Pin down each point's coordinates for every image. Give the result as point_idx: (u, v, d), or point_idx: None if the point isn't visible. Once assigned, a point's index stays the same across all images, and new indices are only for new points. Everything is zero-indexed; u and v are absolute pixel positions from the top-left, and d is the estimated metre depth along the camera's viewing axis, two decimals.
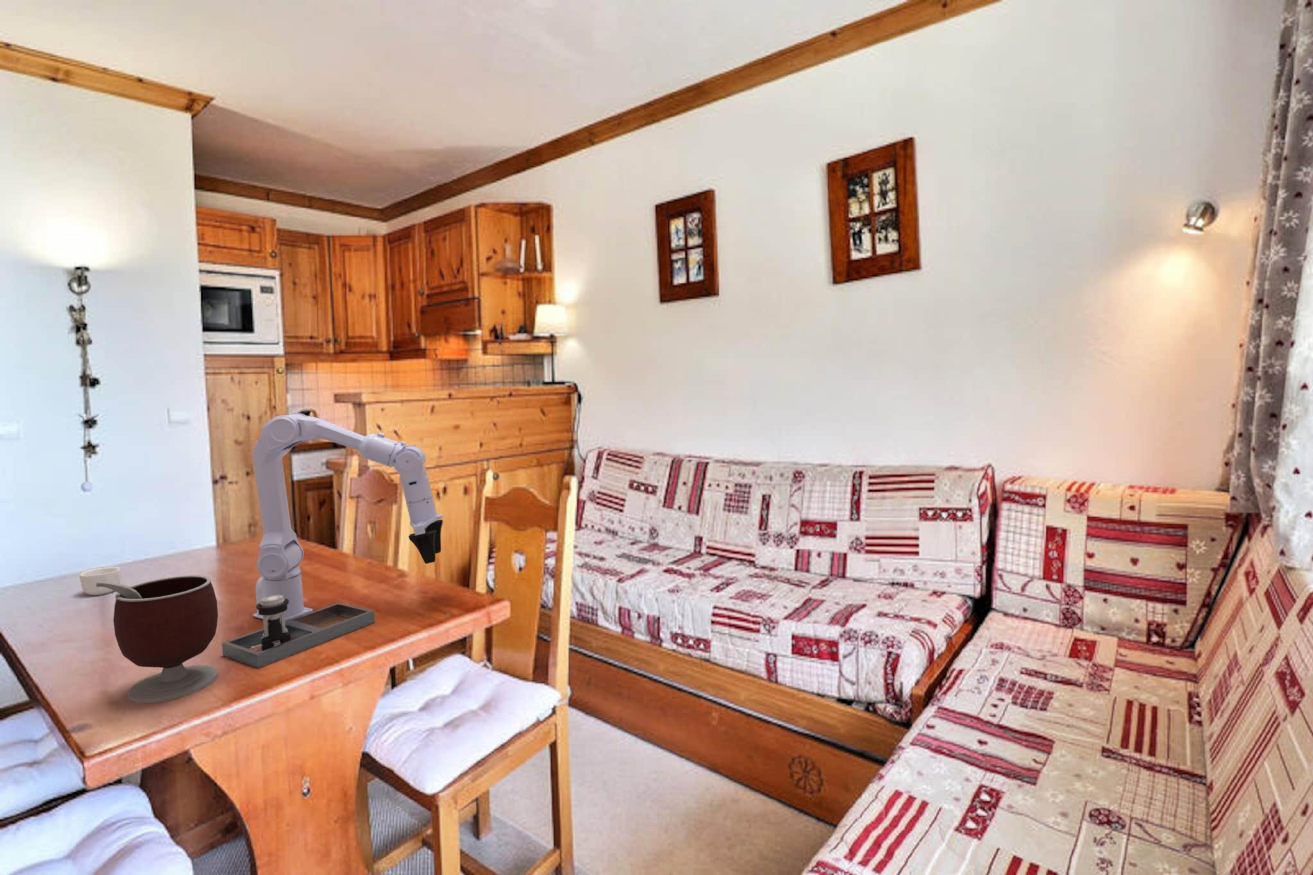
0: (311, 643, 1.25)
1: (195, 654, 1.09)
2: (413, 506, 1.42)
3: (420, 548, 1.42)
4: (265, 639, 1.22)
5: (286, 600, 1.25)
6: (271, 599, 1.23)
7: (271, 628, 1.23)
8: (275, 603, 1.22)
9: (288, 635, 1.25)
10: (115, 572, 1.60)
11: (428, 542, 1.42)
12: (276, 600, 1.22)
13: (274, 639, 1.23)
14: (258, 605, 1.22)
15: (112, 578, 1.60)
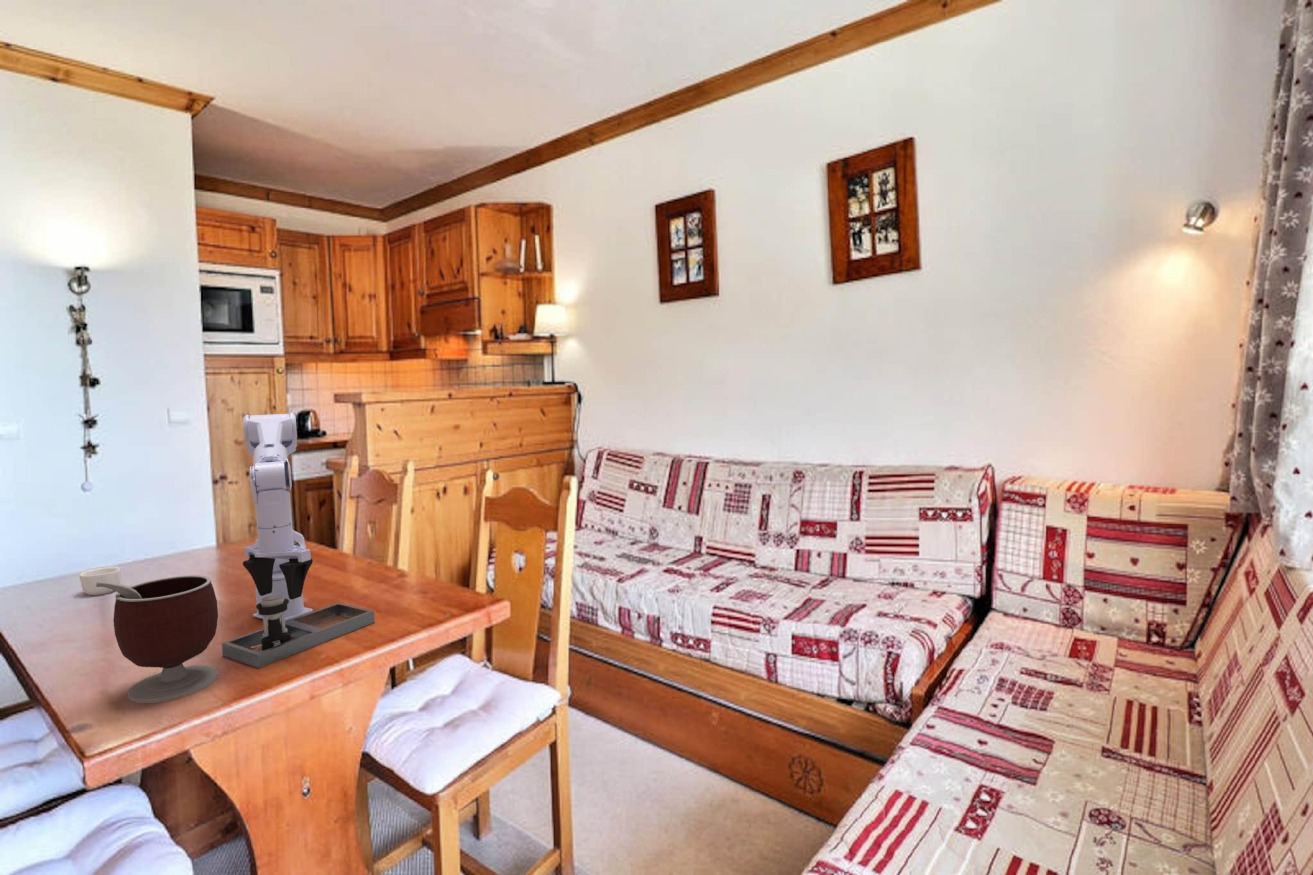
0: (311, 643, 1.25)
1: (195, 654, 1.09)
2: None
3: None
4: (265, 639, 1.22)
5: (286, 600, 1.25)
6: (271, 599, 1.23)
7: (271, 628, 1.23)
8: (275, 603, 1.22)
9: (288, 635, 1.25)
10: (115, 572, 1.60)
11: None
12: (276, 600, 1.22)
13: (274, 639, 1.23)
14: (258, 605, 1.22)
15: (112, 578, 1.60)
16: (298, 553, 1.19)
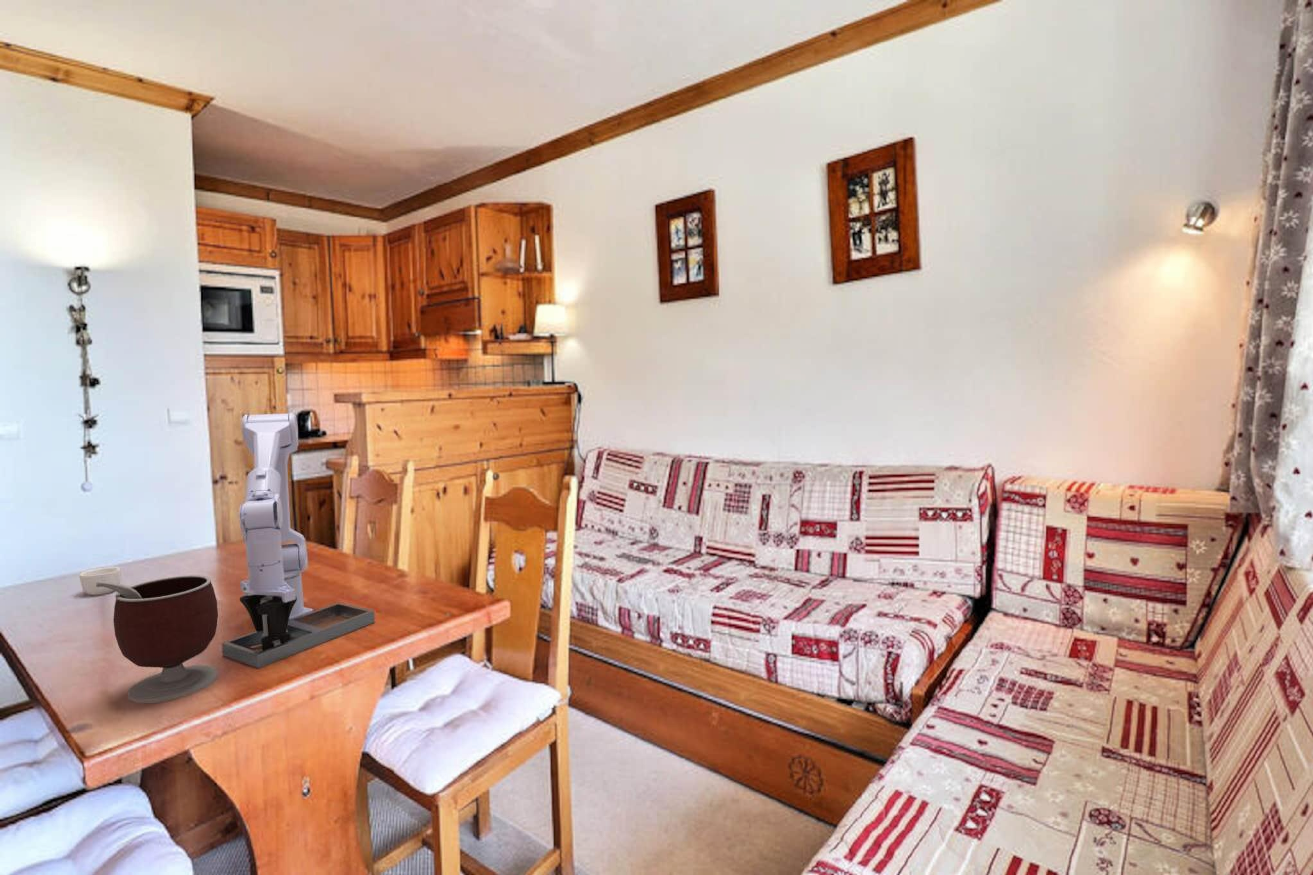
0: (311, 643, 1.25)
1: (195, 654, 1.09)
2: None
3: None
4: (265, 639, 1.22)
5: None
6: (270, 598, 1.23)
7: (270, 628, 1.23)
8: None
9: (288, 634, 1.25)
10: (115, 572, 1.60)
11: None
12: None
13: (274, 639, 1.23)
14: (257, 605, 1.23)
15: (112, 578, 1.60)
16: (282, 593, 1.19)
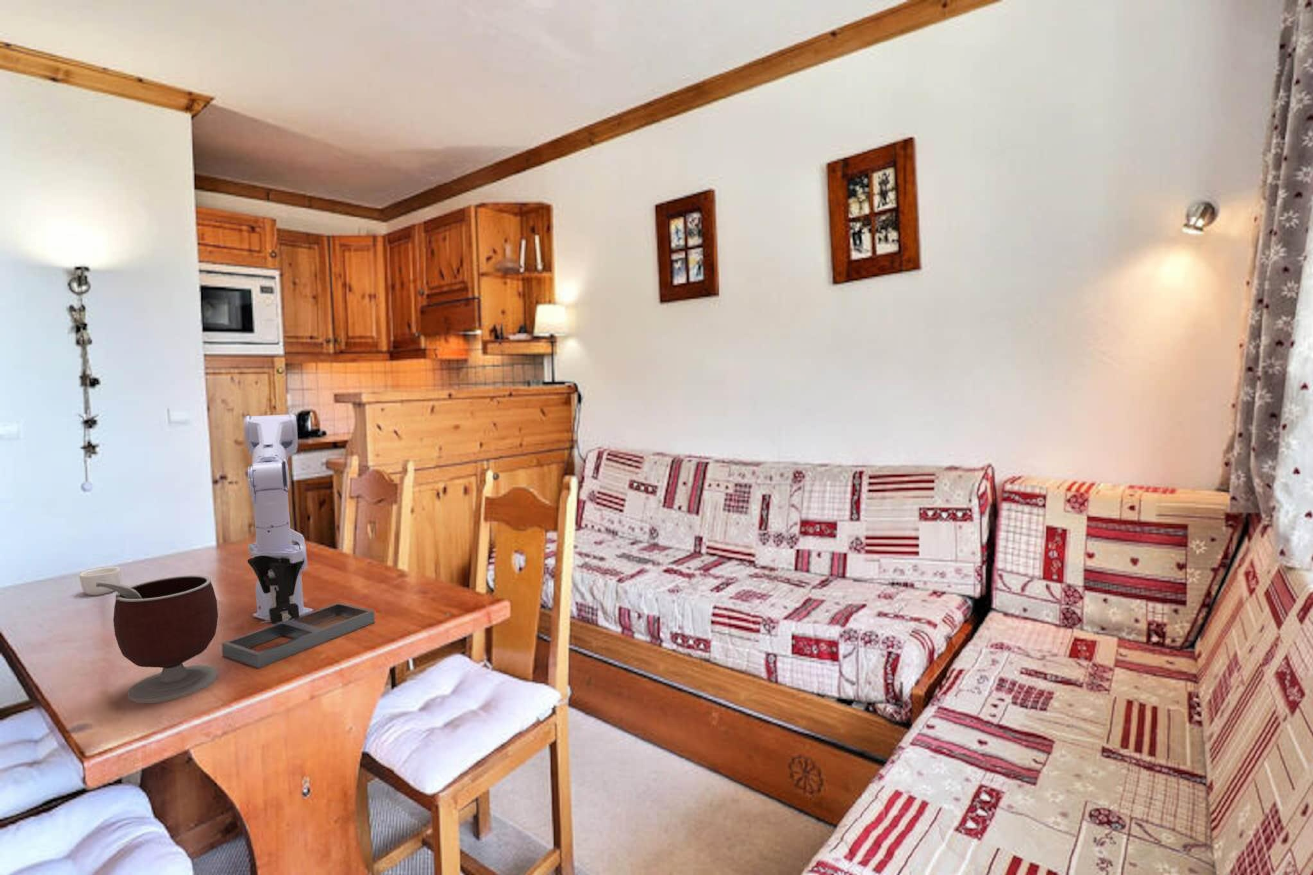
0: (311, 643, 1.25)
1: (195, 654, 1.09)
2: None
3: None
4: (273, 610, 1.24)
5: None
6: None
7: (278, 599, 1.24)
8: None
9: (296, 606, 1.26)
10: (115, 572, 1.60)
11: None
12: None
13: (282, 609, 1.24)
14: (265, 576, 1.24)
15: (112, 578, 1.60)
16: (289, 554, 1.20)
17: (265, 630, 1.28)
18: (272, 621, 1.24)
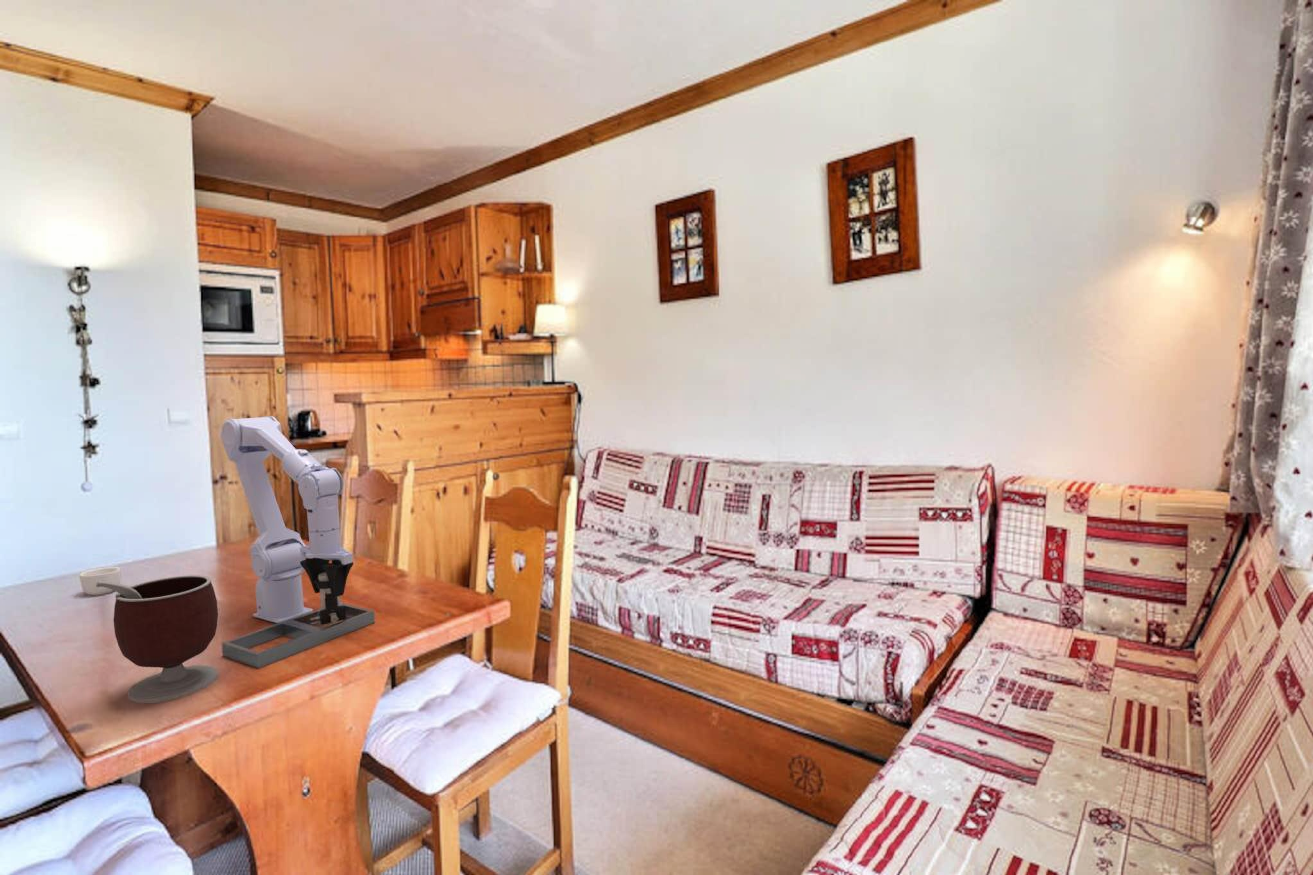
0: (311, 643, 1.25)
1: (195, 654, 1.09)
2: None
3: None
4: (323, 611, 1.32)
5: None
6: None
7: (328, 601, 1.33)
8: None
9: (343, 608, 1.34)
10: (115, 572, 1.60)
11: None
12: None
13: (331, 611, 1.33)
14: (316, 580, 1.33)
15: (112, 578, 1.60)
16: (341, 556, 1.29)
17: (265, 630, 1.28)
18: (322, 622, 1.32)
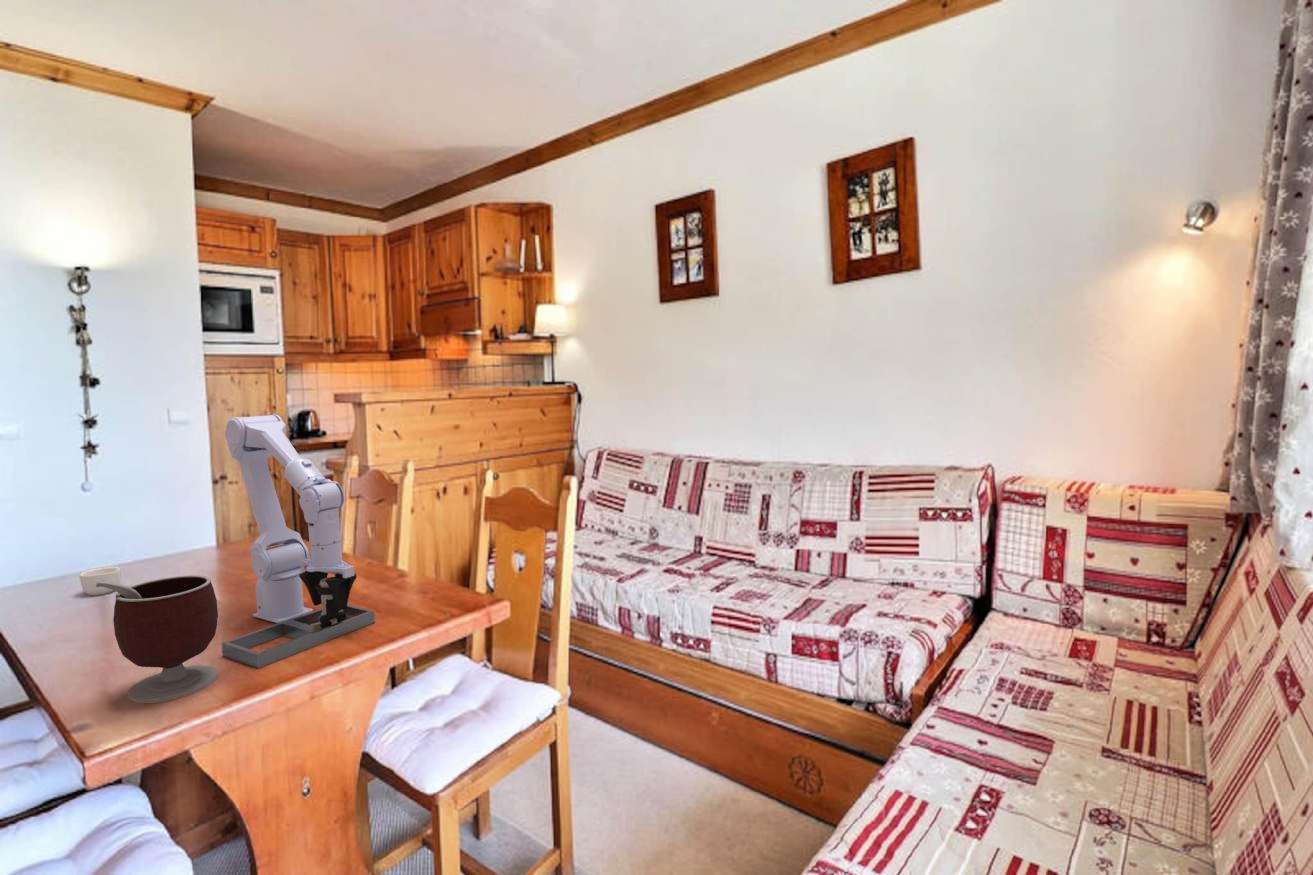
0: (311, 643, 1.25)
1: (195, 654, 1.09)
2: None
3: None
4: (323, 617, 1.32)
5: None
6: None
7: (329, 607, 1.33)
8: None
9: (344, 614, 1.35)
10: (115, 572, 1.60)
11: None
12: None
13: (331, 617, 1.33)
14: (317, 586, 1.32)
15: (112, 578, 1.60)
16: (342, 570, 1.29)
17: (265, 630, 1.28)
18: (322, 628, 1.32)
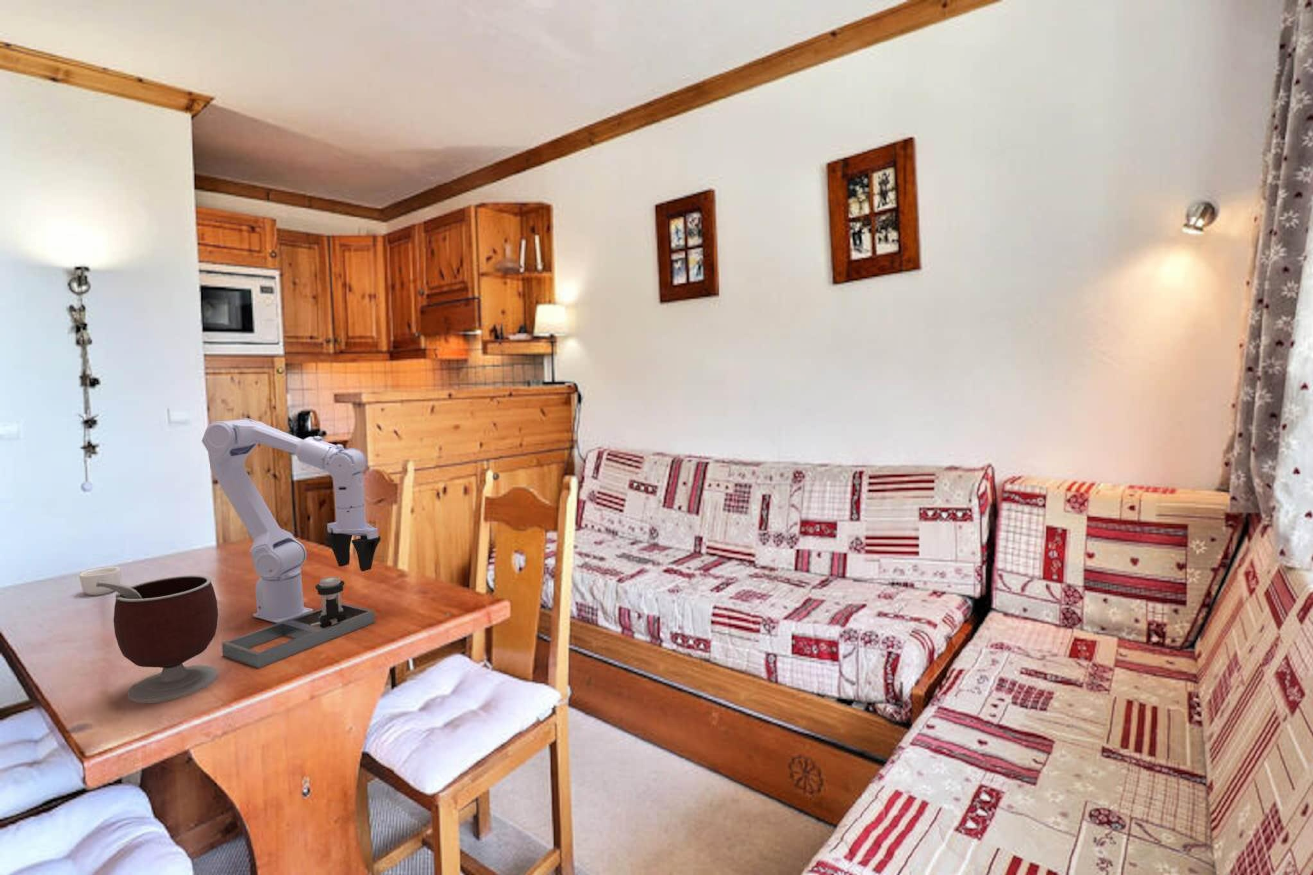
0: (311, 643, 1.25)
1: (195, 654, 1.09)
2: None
3: None
4: (323, 617, 1.32)
5: (342, 581, 1.35)
6: (329, 580, 1.33)
7: (329, 607, 1.33)
8: (333, 584, 1.32)
9: (344, 614, 1.35)
10: (115, 572, 1.60)
11: None
12: (334, 581, 1.32)
13: (331, 617, 1.33)
14: (317, 586, 1.32)
15: (112, 578, 1.60)
16: (367, 531, 1.36)
17: (265, 630, 1.28)
18: (322, 628, 1.32)
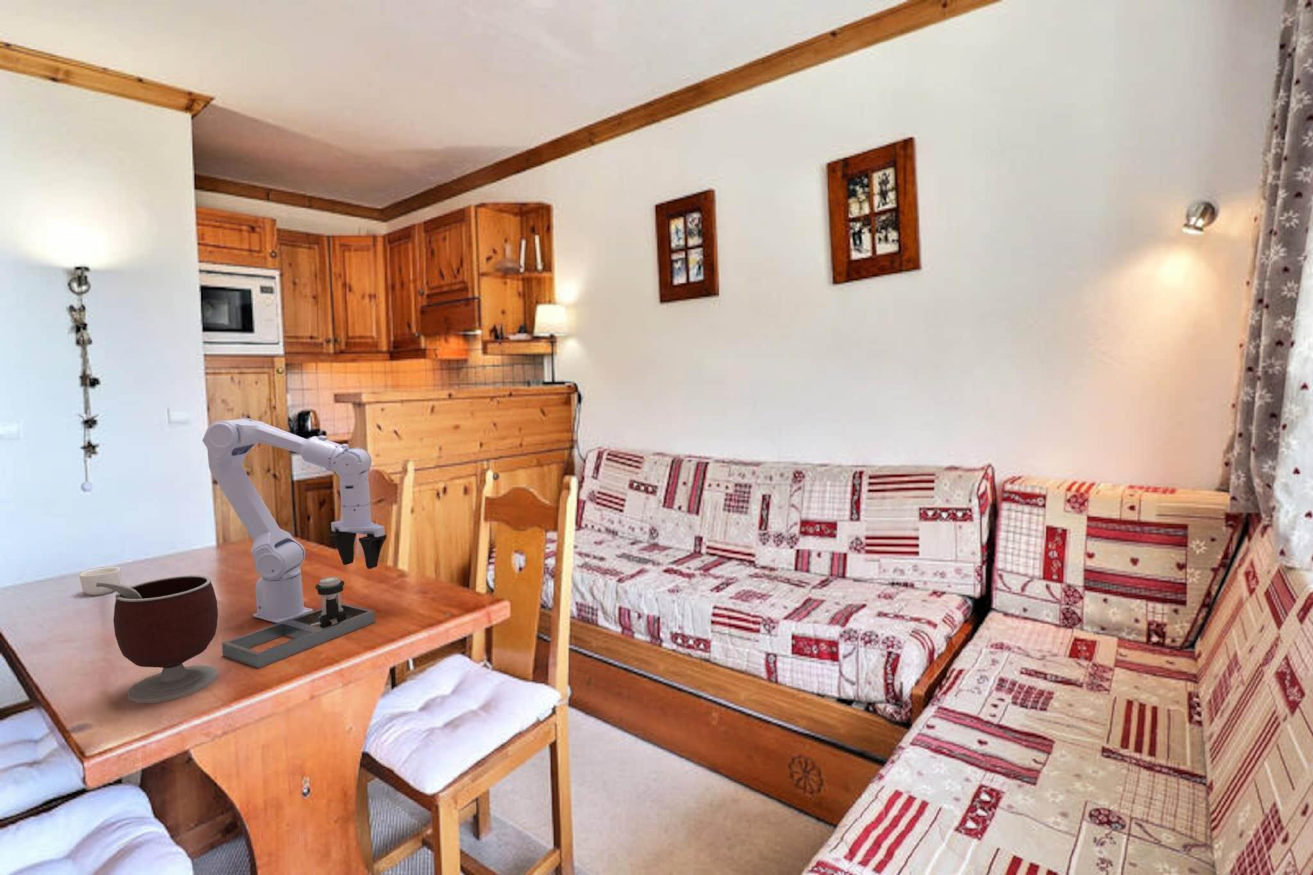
0: (311, 643, 1.25)
1: (195, 654, 1.09)
2: None
3: None
4: (323, 617, 1.32)
5: (342, 581, 1.35)
6: (329, 580, 1.33)
7: (329, 607, 1.33)
8: (333, 584, 1.32)
9: (344, 614, 1.35)
10: (115, 572, 1.60)
11: None
12: (334, 581, 1.32)
13: (331, 617, 1.33)
14: (317, 586, 1.32)
15: (112, 578, 1.60)
16: (374, 529, 1.37)
17: (265, 630, 1.28)
18: (322, 628, 1.32)
